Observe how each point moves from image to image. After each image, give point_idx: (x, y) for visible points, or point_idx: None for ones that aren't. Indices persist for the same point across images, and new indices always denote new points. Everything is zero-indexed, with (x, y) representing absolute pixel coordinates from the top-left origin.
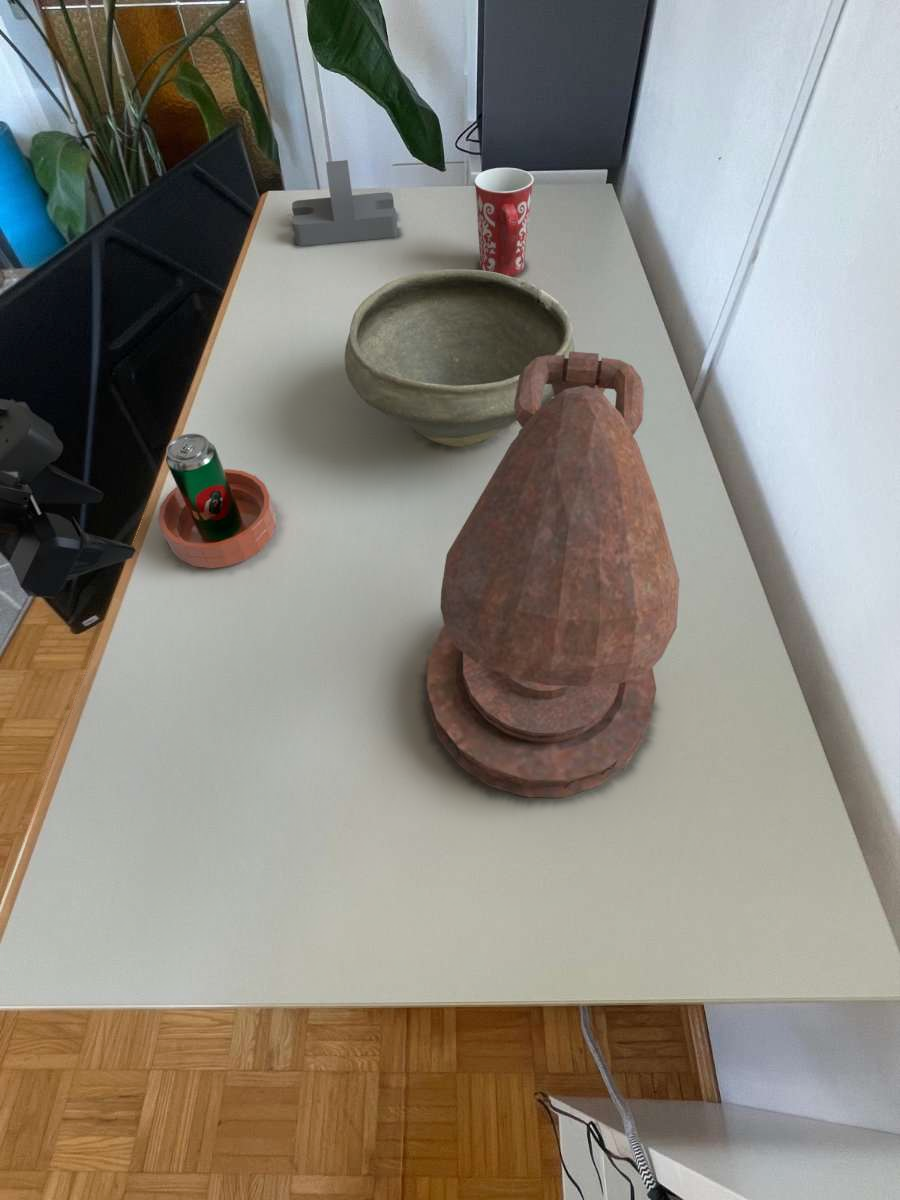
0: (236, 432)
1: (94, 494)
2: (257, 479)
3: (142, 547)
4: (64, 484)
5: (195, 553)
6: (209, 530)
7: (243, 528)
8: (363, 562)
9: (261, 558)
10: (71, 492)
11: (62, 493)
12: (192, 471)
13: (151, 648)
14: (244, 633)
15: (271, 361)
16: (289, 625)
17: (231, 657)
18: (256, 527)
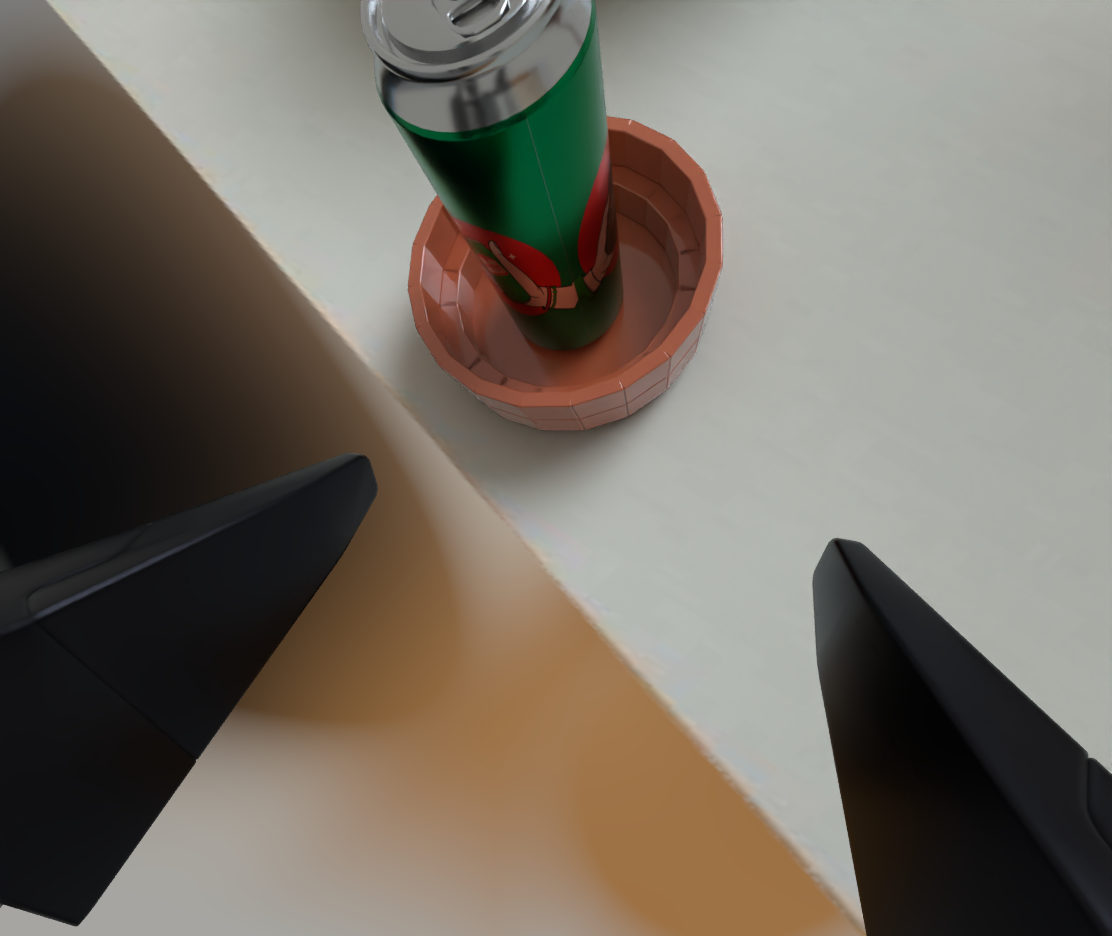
0: (338, 149)
1: (344, 487)
2: None
3: (466, 477)
4: (193, 592)
5: (647, 384)
6: (598, 315)
7: None
8: (929, 103)
9: (719, 285)
10: (263, 576)
11: (234, 622)
12: (579, 68)
13: (783, 646)
14: (924, 442)
15: (232, 7)
16: (990, 342)
17: (980, 512)
18: (715, 202)
